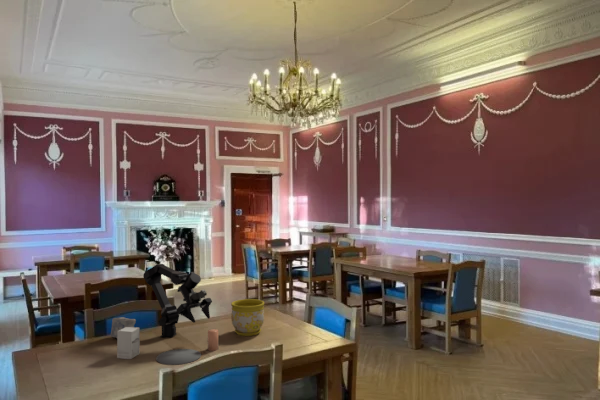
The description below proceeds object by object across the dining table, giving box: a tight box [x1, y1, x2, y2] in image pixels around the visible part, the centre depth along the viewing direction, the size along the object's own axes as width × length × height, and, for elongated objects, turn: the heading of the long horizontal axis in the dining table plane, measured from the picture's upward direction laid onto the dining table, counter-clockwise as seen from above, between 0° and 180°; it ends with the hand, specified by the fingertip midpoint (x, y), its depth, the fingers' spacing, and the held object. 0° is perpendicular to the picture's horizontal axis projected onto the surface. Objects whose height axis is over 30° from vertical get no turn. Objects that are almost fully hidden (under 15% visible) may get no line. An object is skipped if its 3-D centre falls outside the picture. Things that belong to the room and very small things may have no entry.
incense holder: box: [110, 316, 137, 339], centre depth 241 cm, size 10×8×10 cm
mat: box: [156, 348, 202, 366], centre depth 212 cm, size 20×20×1 cm
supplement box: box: [116, 326, 141, 360], centre depth 213 cm, size 7×7×13 cm
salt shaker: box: [207, 328, 219, 352], centre depth 223 cm, size 5×5×9 cm
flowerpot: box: [230, 298, 265, 337], centre depth 250 cm, size 18×18×16 cm
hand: (202, 320), depth 227 cm, fingers open, 9 cm apart
